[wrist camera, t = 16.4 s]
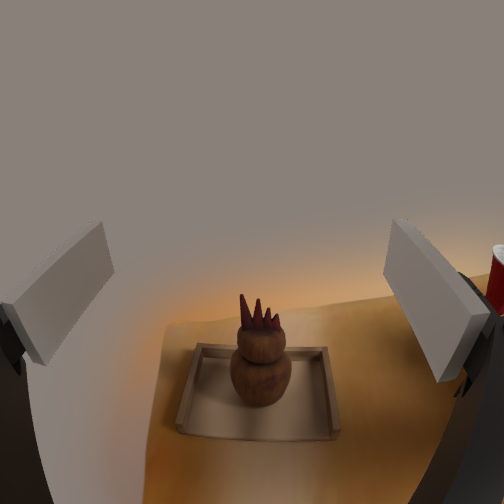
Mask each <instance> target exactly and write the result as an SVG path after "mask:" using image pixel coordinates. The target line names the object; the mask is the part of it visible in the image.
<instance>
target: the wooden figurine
mask: <svg viewBox="0 0 504 504" xmlns="http://www.w3.org/2000/svg"><path fill="white" fill-rule="evenodd" d="M240 307H241V308H240V310H241V325H242V326H241V327H240V328H239V330H238V334H237V344H238V348H237V349H236V350H235V351H234V353H233V354H232V357H231V362H230V376H231V380H232V383H233V386H234V388H235V390H236V392H237V394H238V395H239V396H240V397H241V398H242V399H243V400H245V401H246V402H247V403H249V404H251V405H255V406H269V405H272V404H274V403H276V402H277V401H278V400H279V399H281V398H282V396H283V394H284V393H285V391H286V388H287V386H288V384H289V382H290V378H291V371H292V362H291V360H290V358H289V356H288V355H287V354H286V352H285V351H284V349H285V345H286V339H285V333H284V331H283V329H282V328H281V326H280V321H279V316H278V314H275V316H274V317H273V318H272V319H271V312H270V308H267V311H266V313H265V317H264V318H263V316H262V310H261V303H260V299H257V301H256V306H255V311H254V316H253V318H252V317H251V314H250V311H249V309H248V306H247V304H246V301H245V298H244V295H243V294H240Z"/></svg>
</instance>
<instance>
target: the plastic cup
mask: <svg viewBox="0 0 504 504" xmlns="http://www.w3.org/2000/svg"><path fill="white" fill-rule="evenodd" d="M485 298H486V299H487V300H488V301H489V303H490V304H491V305H492V306H493V308H494V309H495V310H496V312H497V313H498V314H499V315H503V314H504V245H495V246H494V247H493V259H492V266H491V272H490V276H489V281H488V286H487V292H486V296H485Z"/></svg>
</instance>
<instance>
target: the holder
mask: <svg viewBox="0 0 504 504" xmlns="http://www.w3.org/2000/svg"><path fill="white" fill-rule="evenodd" d="M237 348H238V345H219V344H204V343H197V345H196V349H195V352H194V356H193V359H192V363H191V366H190V370H189V373H188V377H187V381H186V384H185V388H184V391H183V395H182V399H181V402H180V406H179V410H178V413H177V417H176V421H175V425H176V427H177V429H178V432H179V434H185V435H192V436H200V437H209V438H219V439H231V440H246V441H320V440H336V438H337V436H338V434H339V432H340V430H341V428H340V421H339V414H338V407H337V401H336V395H335V388H334V382H333V376H332V371H331V365H330V359H329V354H328V348H327V347H285V349H284V351H285V352H286V354H287V355H288V356H289V358H290V360H291V362H292V371H291V378H290V382H289V384H288V386H287V388H286V391H285V393H284V394H283V396H282V398H281V399H279V400H278V401H277V402H276V403H274V404H272V405H269V406H255V405H251V404H249V403H247V402H246V401H245V400H243V399H242V398H241V397H240V396H239V395H238V394H237V392H236V390H235V388H234V386H233V383H232V380H231V376H230V362H231V357H232V354H233V353H234V351H235V350H236V349H237Z"/></svg>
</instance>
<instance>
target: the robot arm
mask: <svg viewBox="0 0 504 504" xmlns="http://www.w3.org/2000/svg"><path fill="white" fill-rule="evenodd" d="M113 273H114V269H113V265H112V261H111V257H110V253H109V249H108V245H107V241H106V237H105V233H104V228H103V224H102V222H89V223H88V224H87V225H85V226H84V227H83V228H82V229H80V230H79V231H78V232H77V233H75V234H74V235H73V236H72V237H70V238H69V239H68V240H67V241H66V242H64V243H63V244H62V245H61V246H60V247H59V248H58V249H56V250H55V251H54V252H53V253H52V254H50V255H49V256H48V257H47V258H46V259H45V260H44V261H43V262H41V263H40V264H39V265H38V266H37V267H36V268H35V269H34V270H33V271H32V272H31V273H29V274H28V275H27V276H26V277H25V278H24V279H23V280H22V281H21V282H20V283H19V284H18V285H17V286H16V287H15V288H14V289H13V290H12V291H11V292H10V293H9V294H8V295H7V296H6V297H5V298H4V299H3V300H2V301H1V304H0V504H54V503H53V500H52V497H51V494H50V491H49V488H48V484H47V481H46V478H45V474H44V471H43V467H42V463H41V459H40V455H39V451H38V446H37V442H36V437H35V432H34V427H33V421H32V415H31V408H30V401H29V393H28V383H27V372H26V363H25V360H24V359H23V357H22V355H23V354H24V352H25V351H26V352H27V353H28V355H29V356H30V358H31V360H32V361H33V362H34V363H37V364H41V365H44V366H47V364H48V363H49V361H50V360H51V358H52V357H53V355H54V354H55V352H56V351H57V349H58V348H59V346H60V345H61V343H62V342H63V340H64V339H65V338H66V336H67V335H68V333H69V332H70V331H71V329H72V328H73V326H74V325H75V324H76V322H77V321H78V319H79V318H80V317H81V315H82V314H83V313H84V311H85V310H86V308H87V307H88V306H89V304H90V303H91V301H92V300H93V299H94V298H95V296H96V295H97V294H98V293H99V291H100V290H101V289H102V287H103V286H104V285H105V283H106V282H107V281H108V280H109V278H110V277H111V276H112V275H113ZM383 275H384V276H385V278H386V280H387V282H388V284H389V285H390V287H391V289H392V291H393V293H394V295H395V296H396V298H397V300H398V302H399V304H400V306H401V308H402V310H403V312H404V314H405V316H406V317H407V319H408V321H409V323H410V325H411V327H412V329H413V331H414V333H415V336H416V338H417V340H418V342H419V344H420V346H421V348H422V350H423V352H424V354H425V357H426V359H427V361H428V363H429V365H430V368H431V370H432V372H433V375H434V377H435V379H436V381H437V383H440V382H445V381H450V380H454V379H456V378H457V376H458V374H459V373H460V371H461V369H462V367H464V368H465V370H466V372H467V376H466V378H465V379H464V381H463V382H462V384H461V385H460V387H459V389H458V390H457V392H456V393H455V395H454V397H457V395H458V394H459V395H458V398H457V401H456V404H455V407H454V409H453V412H452V415H451V417H450V420H449V422H448V425H447V427H446V430H445V432H444V435H443V437H442V439H441V441H440V444H439V446H438V448H437V450H436V452H435V454H434V457H433V459H432V461H431V463H430V465H429V467H428V469H427V471H426V472H425V474H424V476H423V478H422V480H421V482H420V484H419V485H418V487H417V489H416V491H415V492H414V494H413V496H412V497H411V499H410V501H409V502H408V504H501V503H502V500H503V497H504V316H502V317H500V315H499V314H498V313H497V312H496V310H495V309H494V308H493V306H492V305H491V304H490V303H489V301H488V300H487V299H486V298H485V297H484V296H482V293H481V292H480V290H479V289H477V287H476V286H475V285H474V283H473V282H472V281H471V280H470V279H469V278H467V277H466V276H465V275H463V274H462V273H460V272H457V271H456V270H455V269H454V267H453V266H452V265H451V264H450V263H449V262H448V261H447V260H446V259H445V257H444V256H443V255H442V254H441V253H440V252H439V251H438V250H437V249H436V248H435V247H434V246H433V245H432V244H431V242H430V241H429V240H428V239H427V238H425V236H424V235H423V234H422V233H421V232H420V231H419V230H418V229H417V228H416V227H415V226H414V225H413V224H412V223H411V222H410V221H409V220H405V219H403V220H401V219H393V221H392V228H391V235H390V240H389V246H388V252H387V256H386V262H385V267H384V272H383Z"/></svg>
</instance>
